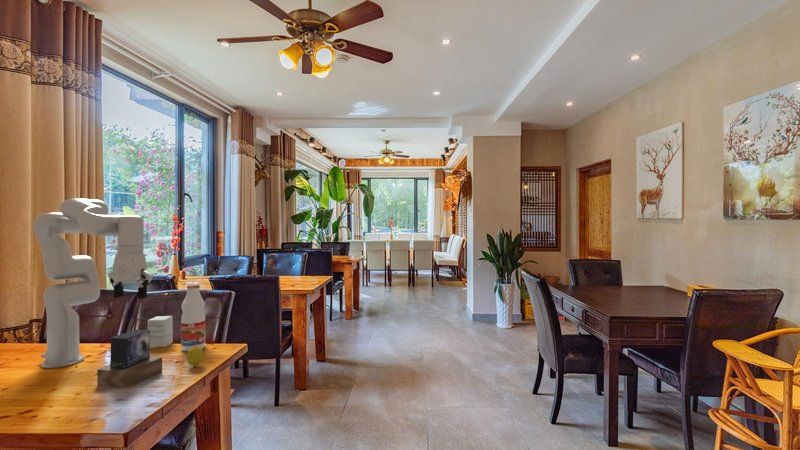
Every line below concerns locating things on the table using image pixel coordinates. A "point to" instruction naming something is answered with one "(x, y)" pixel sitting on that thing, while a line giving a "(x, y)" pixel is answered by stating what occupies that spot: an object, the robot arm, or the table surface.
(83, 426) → the table surface
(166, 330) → the supplement box
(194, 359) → the lemon
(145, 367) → the walnut block
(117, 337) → the small box
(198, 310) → the fruit juice
